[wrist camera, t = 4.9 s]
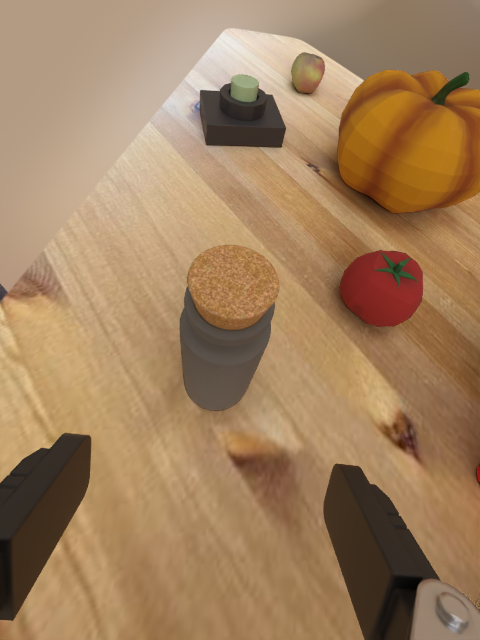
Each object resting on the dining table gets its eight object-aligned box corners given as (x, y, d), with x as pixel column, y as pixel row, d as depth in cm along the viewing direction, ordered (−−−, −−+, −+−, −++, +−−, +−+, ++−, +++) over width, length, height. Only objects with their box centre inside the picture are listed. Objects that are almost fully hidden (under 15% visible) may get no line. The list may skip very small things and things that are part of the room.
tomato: (390, 347, 33) (435, 311, 27) (321, 311, 34) (349, 269, 28) (406, 295, 37) (449, 253, 31) (344, 265, 38) (373, 219, 32)
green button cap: (232, 102, 45) (233, 86, 44) (228, 89, 47) (229, 73, 46) (258, 104, 46) (261, 88, 44) (253, 91, 48) (256, 75, 46)
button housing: (206, 145, 47) (207, 109, 43) (199, 110, 52) (200, 74, 48) (281, 147, 49) (289, 113, 45) (268, 113, 54) (275, 80, 50)
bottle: (215, 339, 31) (230, 220, 18) (260, 378, 29) (312, 280, 16) (170, 380, 28) (149, 275, 15) (217, 426, 26) (238, 353, 14)
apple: (301, 103, 58) (312, 65, 53) (280, 82, 61) (288, 44, 56) (327, 100, 60) (339, 63, 55) (305, 80, 63) (315, 43, 58)
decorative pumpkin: (441, 160, 54) (519, 52, 41) (463, 251, 42) (580, 141, 29) (328, 132, 54) (370, 15, 41) (318, 215, 42) (373, 89, 29)
